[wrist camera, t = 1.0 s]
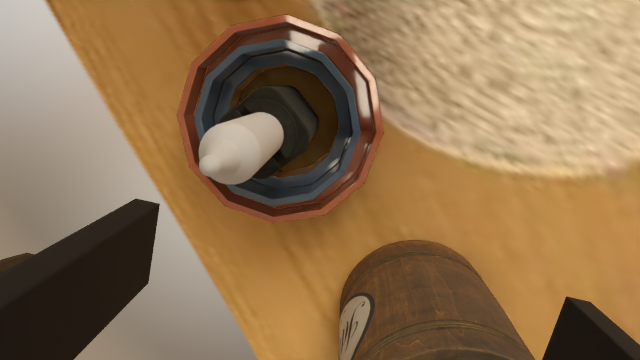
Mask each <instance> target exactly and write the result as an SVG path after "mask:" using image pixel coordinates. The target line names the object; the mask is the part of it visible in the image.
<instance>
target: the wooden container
mask: <svg viewBox="0 0 640 360" xmlns="http://www.w3.org/2000/svg"><path fill="white" fill-rule="evenodd" d="M339 360H535V359H534V357H533V355H532V354H531V352H530V351H529V349H528V348H527V346H526V345H525V343H524V342H523V340H522V339H521V337H520V336H519V334H518V333H517V331H516V329H515V328H514V326H513V325H512V323H511V321H510V320H509V318H508V316H507V315H506V313H505V312H504V310H503V309H502V307H501V306H500V304H499V303H498V301H497V300H496V298H495V297H494V296H493V294H492V293H491V292H490V290H489V289H488V287H487V286H486V285H485V283H484V282H483V280H482V279H481V277H480V276H479V275H478V273H477V272H476V270H475V269H474V268H473V267H472V266H471V265H470V264H469V262H468V261H467V260H466V259H464V258H463V257H462V256H461V255H459V254H458V253H457V252H455V251H454V250H452V249H450V248H448V247H446V246H443V245H441V244H437V243H433V242H428V241H420V240H410V241H401V242H396V243H393V244H389V245H387V246H384V247H382V248H380V249H378V250H376V251H374V252H372V253H371V254H369V255H368V256H366V257H365V258H364V259H363V260H362V261H361V262H360V263H359V264H358V265H357V266H356V267H355V268H354V269H353V271H352V272H351V274H350V275H349V277H348V279H347V281H346V283H345V285H344V288H343V291H342V295H341V302H340V323H339Z"/></svg>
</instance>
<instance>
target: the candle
mask: <svg viewBox="0 0 640 360" xmlns="http://www.w3.org/2000/svg"><path fill="white" fill-rule="evenodd" d="M318 127H319V118H318V116H317V114H316V113H315V112H314V110H313V109H312V108H311V106H310V105H309V104H308V102H307V101H306V100H305V98H304V97H303V96H302V94H301V93H300V92H299V91H298V90H297V89H296V88H294V87H291V86H262V87H259V88H257V89H255V90H254V91H253V92H252V93H250V94H249V95H248V96H247V97H245V98H244V99H243V100H242V101H240V102H239V103H238V104H237V105H236V106H234V107H233V108H232V109H231V110H229V111H228V112H227V113H226V114H224V115H223V116H222V117H221V118H220V120H219V122H218V124H217V125H215V126H214V127H212V128H210V129H209V130H208V131H207V132H206V133H205V134H204V136H203V138H202V140H201V142H200V146H199V160H200V162H199V169H200V171H201V173H202V174H204V175H205V176H208V177H211V178H212V179H214V180H216V181H217V182H219V183H223V184H239V183H243V182H245V181H246V180H248V179H250V178H251V177H253V178H256V179H266V178H269V177H271V176H272V175H273V174H275V173H276V172H277V171H279V170H280V169H281V168H283V167H284V166H285V165H287V164H288V163H289V162H291V161H292V160H293V159H295V158H296V157H297V156H298V155H300V154H301V153H302V152H304V151H305V150H306V148H307V147H308V145H309V143H310V141H311V140H312V138H313V136H314V134H315V133H316V131H317V129H318Z"/></svg>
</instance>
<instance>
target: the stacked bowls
mask: <svg viewBox="0 0 640 360" xmlns="http://www.w3.org/2000/svg"><path fill="white" fill-rule="evenodd" d="M285 27H286V28H285ZM279 28H281V29H279ZM274 29H276V30H274ZM297 29H298V30H297ZM269 30H271V31H269ZM264 31H265V32H264ZM259 32H260V33H259ZM305 32H306V33H305ZM254 33H255V34H254ZM308 33H309V34H308ZM249 34H250V35H249ZM244 35H245V36H244ZM313 35H314V36H313ZM241 36H242V37H241ZM316 36H317V37H316ZM240 37H241V38H240ZM239 38H240V39H239ZM238 39H239V40H238ZM324 39H325V40H324ZM237 40H238V41H237ZM332 42H333V43H332ZM336 44H337V45H336ZM228 48H229V49H228ZM227 49H228V50H227ZM340 49H341V50H340ZM226 50H227V51H226ZM283 50H284V51H283ZM225 51H226V52H225ZM278 51H279V52H278ZM224 52H225V53H224ZM273 52H274V53H273ZM223 53H224V54H223ZM267 53H268V54H267ZM262 54H263V55H262ZM344 54H345V55H344ZM257 55H258V56H257ZM252 56H253V57H252ZM310 58H311V59H310ZM247 59H248V60H247ZM348 59H349V60H348ZM215 60H216V61H215ZM246 60H247V61H246ZM214 61H215V62H214ZM245 61H246V62H245ZM318 61H319V62H318ZM213 62H214V63H213ZM244 62H245V63H244ZM212 63H213V64H212ZM243 63H244V64H243ZM211 64H212V65H211ZM242 64H243V65H242ZM352 64H353V65H352ZM210 65H211V66H210ZM290 65H291V66H293V67H296V68H299V69H301V70H304V71H307V72H309V73H312V74H315V75H316V77H317V78H318V79H319V80H320V81H321V83H322V84H323V85H324V86H325V87H326V89H327V90H328V91H329V92H330V94H331V95H332V96H333V97H334V101H335V107H336V113H337V118H338V124H339V126H338V129H337V132H336V134H335V137H334V140H333V143H332V145H331V148H330V150H329V151H328V152H327V153H325V154H324V155H323V156H322V157H321V158H319V159H318V160H317V161H316V162H315V163H313V164H312V165H311V166H310V167H305V168H299V169H293V170H287V171H281V170H279V171H277V172H276V173H275V174H273V175H272V176H271V177H269V178H266V179H256V178H253V177H251V178H250V179H248V180H246V181H245V182H243V183H239V184H223V183H219V182H217V181H216V180H214V179H212V178H211V177H208V176H205V175H204V174H202V173H201V171H200V169H199V162H200V160H199V146H200V142H201V140H202V138H203V136H204V134H205V133H206V132H207V131H208V130H209V129H210V128H212V127H214V126H215V125H217V124H218V122H219V120H220V118H221V117H222V116H223V115H224V114H226V113H227V112H228V111H229V110H231V109H232V108H233V107H234V106H236V105H237V104H238V102H239V99H240V96H241V93H242V89H243V88H244V87H245V86H246V85H248V84H249V83H250V82H251V81H252V80H253V79H254V78H255V77H256V76H258V75H259V74H260V73H261V72H262V71H263V70H269V69H274V68H279V67H285V66H290ZM236 69H237V70H236ZM356 69H357V70H356ZM206 70H207V72H206ZM235 70H236V71H235ZM234 71H235V72H234ZM233 72H234V73H233ZM205 73H206V75H205ZM232 73H233V74H232ZM231 74H232V75H231ZM204 77H205V79H204ZM225 79H226V80H225ZM203 80H204V82H203ZM202 84H203V86H202ZM201 87H202V89H201ZM200 90H201V92H200ZM368 93H369V94H368ZM199 94H200V96H199ZM198 97H199V99H198ZM197 101H198V103H197ZM196 104H197V106H196ZM370 106H371V107H370ZM195 108H196V109H195ZM194 111H195V113H194ZM371 113H372V114H371ZM194 114H195V116H194ZM177 118H178V122H179V126H180V130H181V135H182V139H183V143H184V147H185V151H186V155H187V159H188V163H189V167H190V168H191V169H192V170H193V172H194V173H195V174H196V175H197V176H198V177H199V178H200V179H201V180H202V182H203V183H204V184H205V185H206V186H207V187H208V188H209V189H210V190H211V192H212V193H213V194H214V195H215V196H216V197H217V198H218V199H219V200H220V202H221V203H222V204H223V205H224V206H226V207H229V208H232V209H235V210H237V211H240V212H243V213H246V214H249V215H251V216H254V217H257V218H260V219H262V220H265V221H268V222H271V223H278V222H285V221H291V220H297V219H304V218H310V217H316V216H323V215H325V214H326V213H327V212H328V211H330V210H331V209H332V208H334V207H335V206H336V205H337V204H339V203H340V202H341V201H342V200H344V199H345V198H346V197H347V196H349V195H350V194H351V193H352V192H354V191H355V190H356V189H357V188H359V187H360V186H361V185H362V184H364V182H365V180H366V177H367V175H368V172H369V170H370V167H371V165H372V162H373V159H374V157H375V154H376V152H377V149H378V147H379V144H380V142H381V139H382V137H383V134H384V132H383V125H382V118H381V112H380V105H379V98H378V91H377V85H376V79H375V77H374V76H373V75H372V73H371V72H370V71H369V70H368V68H367V67H366V66H365V65H364V63H363V62H362V61H361V60H360V58H359V57H358V56H357V55H356V53H355V52H354V51H353V50H352V48H351V47H350V46H349V45H348V43H347V42H346V41H345V40H344V38H343V37H342V36H341V35H340V34H338V33H336V32H333V31H330V30H328V29H325V28H322V27H320V26H317V25H314V24H312V23H309V22H306V21H304V20H301V19H298V18H296V17H293V16H290V15H288V14H285V15H280V16H275V17H270V18H265V19H260V20H255V21H250V22H244V23H239V24H234V25H231V26H230V27H229V28H228V29H227V30H226V31H225V32H224V33H223V34H221V35H220V36H219V37H218V38H217V39H216V40H215V41H214V42H213V43H212V44H211V45H210V46H209V47H208V48H207V49H205V50H204V51H203V52H202V53H201V54H200V55H199V56H198V57H197V58H196V59H195V60H194V61H193V62H192V63H191V66H190V70H189V73H188V77H187V80H186V84H185V88H184V91H183V95H182V98H181V102H180V105H179V109H178V112H177ZM373 126H374V127H373ZM349 135H350V136H349ZM371 136H372V137H371ZM369 141H370V142H369ZM346 143H347V144H346ZM367 146H368V147H367ZM343 151H344V152H343ZM365 151H366V152H365ZM362 159H363V160H362ZM360 164H361V165H360ZM335 165H336V166H335ZM330 169H331V170H330ZM358 169H359V170H358ZM329 170H330V171H329ZM324 174H325V175H324ZM355 174H356V175H355ZM354 175H355V176H354ZM319 178H320V179H319ZM350 178H351V179H350ZM349 179H350V180H349ZM314 182H315V183H314ZM345 182H346V183H345ZM313 183H314V184H313ZM344 183H345V184H344ZM311 184H312V185H311ZM305 185H307V186H305ZM299 186H301V187H299ZM340 186H341V187H340ZM293 187H295V188H293ZM339 187H340V188H339ZM287 188H289V189H287ZM281 189H283V190H281ZM335 190H336V191H335ZM334 191H335V192H334ZM235 193H236V194H235ZM238 194H239V195H238ZM330 194H331V195H330ZM241 195H242V196H241ZM329 195H330V196H329ZM243 196H244V197H243ZM246 197H247V198H246ZM249 198H250V199H249ZM325 198H326V199H325ZM252 199H253V200H252ZM324 199H325V200H324ZM254 200H255V201H254ZM257 201H258V202H257ZM321 201H322V202H321ZM260 202H261V203H260ZM315 202H317V203H315ZM263 203H264V204H263ZM309 203H311V204H309ZM265 204H266V205H265ZM302 204H305V205H302ZM268 205H269V206H268ZM296 205H298V206H296ZM271 206H272V207H271ZM290 206H292V207H290ZM274 207H275V208H274ZM284 207H286V208H284ZM277 208H280V209H277Z"/></svg>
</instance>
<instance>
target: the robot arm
mask: <svg viewBox="0 0 640 360" xmlns="http://www.w3.org/2000/svg"><path fill="white" fill-rule="evenodd" d="M159 205H160V204H157V203H153V202H149V201H144V200H139V199H135V200H133V201H131V202H129V203H127V204H125V205H124V206H122V207H120V208H118V209H116V210H115V211H113V212H111V213H109V214H107V215H106V216H104V217H102V218H100V219H98V220H96V221H95V222H93V223H91V224H90V225H87V226H86V227H84V228H82V229H80V230H78V231H77V232H75V233H73V234H71V235H70V236H68V237H66V238H64V239H62V240H60V241H59V242H57V243H55V244H53V245H51V246H50V247H48V248H46V249H44V250H42V251H41V252H39V253H37V254H35V255H34V254H30V253H25V254H21V255H17V256H13V257H9V258H6V259H2V260H0V360H74V359H75V358H76V356H77V355H78V354H79V353H80V352H81V351H82V350H83V349H84V348H85V347H86V346H87V345H88V344H89V343H90V342H91V341H92V340H93V339H94V338H95V337H96V336H97V335H98V334H99V333H100V332H101V331H102V330H103V329H104V328H105V327H106V326H107V325H108V324H109V322H110V321H112V320H113V319H114V318H115V316H116V315H117V314H118V313H119V312H120V311H121V310H122V309H123V308H124V307H125V306H126V305H127V304H128V303H129V302H130V301H131V300H132V299H133V298H134V297H135V296H136V295H137V294H138V293H139V292H140V291H141V290H142V289H143V288H144V287H145V286H146V285H147V284H148V281H149V274H150V267H151V260H152V253H153V246H154V240H155V233H156V226H157V219H158V212H159ZM542 360H640V345H639V344H638V343H637V342H635V341H634V340H633V339H632V338H631V337H630V336H629V335H627V334H626V333H625V332H624V331H623V330H622V329H621V328H619V327H618V326H617V325H616V324H615V323H614V322H613V321H611V320H610V319H609V318H608V317H607V316H606V315H605V314H603V313H602V312H601V311H600V310H599V309H598V308H597V307H595V306H594V305H593V304H592V303H591V302H588V301H584V300H580V299H575V298H571V297H566V299H565V302H564V304H563V307H562V309H561V312H560V315H559V317H558V320H557V323H556V325H555V328H554V330H553V333H552V336H551V338H550V341H549V344H548V346H547V349H546V351H545V354H544V357H543V359H542Z"/></svg>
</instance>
